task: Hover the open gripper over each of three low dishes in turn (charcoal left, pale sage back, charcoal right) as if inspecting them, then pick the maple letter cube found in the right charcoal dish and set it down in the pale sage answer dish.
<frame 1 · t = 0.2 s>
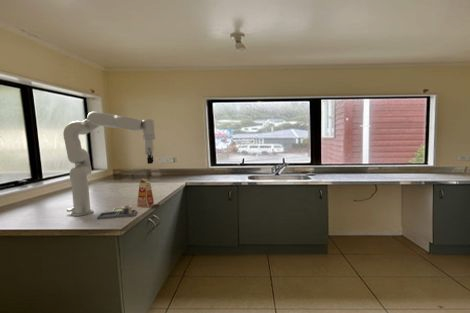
hand: (150, 162, 184), 31 cm above the countertop, fingers open, 9 cm apart
letter cube: (126, 210, 170), in the dish right
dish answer: (121, 211, 180), on the countertop
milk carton: (145, 205, 192), on the countertop
dish right: (127, 214, 170), on the countertop
dish left: (108, 216, 168), on the countertop
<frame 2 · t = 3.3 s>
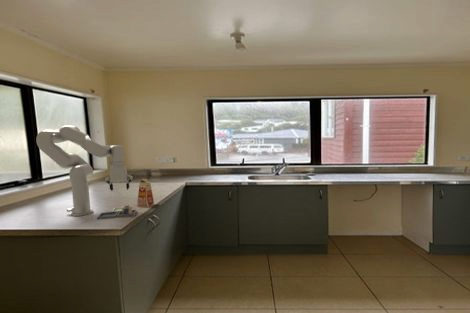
hand: (119, 189, 179), 14 cm above the countertop, fingers open, 9 cm apart
nothing on the countertop moved.
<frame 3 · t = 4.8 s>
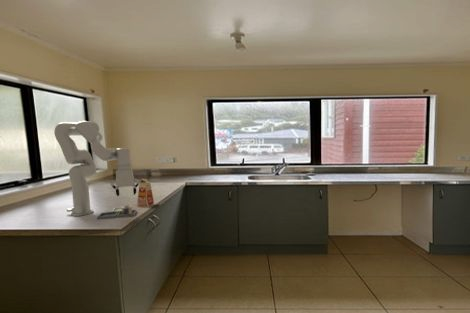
hand: (126, 195, 169), 13 cm above the countertop, fingers open, 9 cm apart
nothing on the countertop moved.
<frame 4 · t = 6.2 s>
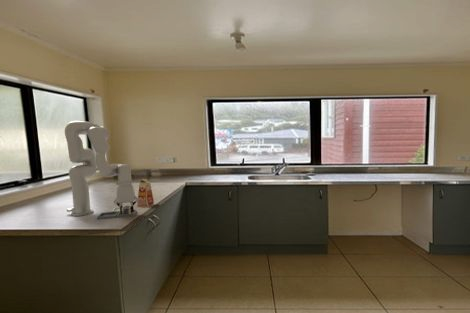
hand: (127, 212, 170), 2 cm above the countertop, fingers closed on letter cube, 5 cm apart
letter cube: (126, 210, 170), in the dish right, touching gripper
everything else where it was.
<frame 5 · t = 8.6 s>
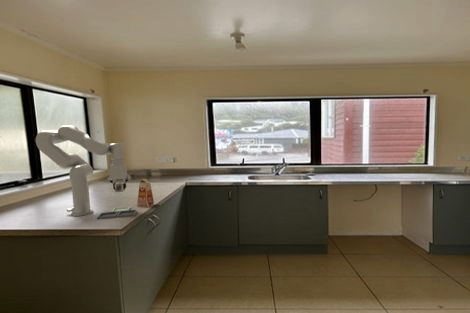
hand: (119, 189, 179), 15 cm above the countertop, fingers closed on letter cube, 5 cm apart
letter cube: (119, 187, 178), point 16 cm above the countertop, touching gripper
everything else where it was.
when the fingers open (3 cm above the countertop, at t = 11.0 s): letter cube drops 1 cm, resting on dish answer.
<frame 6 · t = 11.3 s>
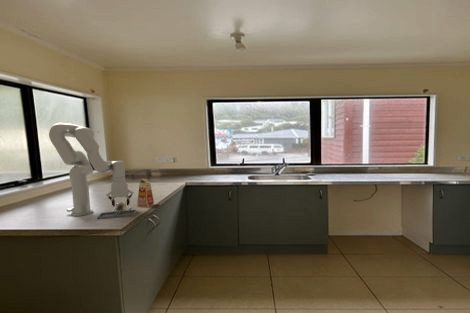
hand: (120, 205, 179), 4 cm above the countertop, fingers open, 8 cm apart
letter cube: (121, 206, 179), in the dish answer
everything else where it was.
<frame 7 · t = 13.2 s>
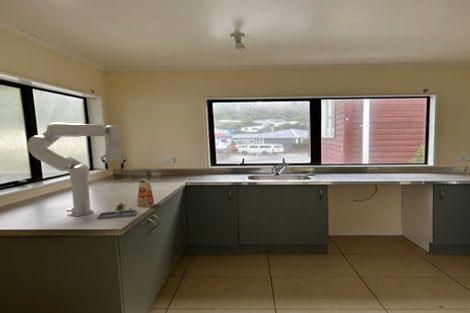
hand: (114, 169, 183), 27 cm above the countertop, fingers open, 9 cm apart
nothing on the countertop moved.
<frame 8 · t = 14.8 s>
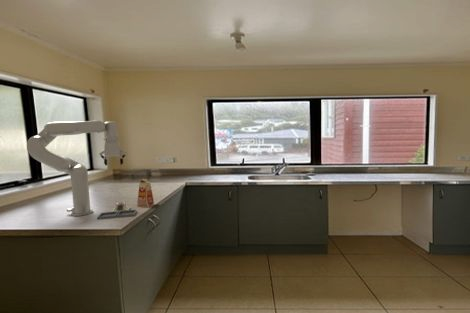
hand: (113, 164, 185), 30 cm above the countertop, fingers open, 9 cm apart
nothing on the countertop moved.
at the end: letter cube inside the target area on the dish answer (0.0 cm from its centre), point 2.9 cm above the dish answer's base; letter cube tilted 0°; the gripper is holding nothing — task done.
